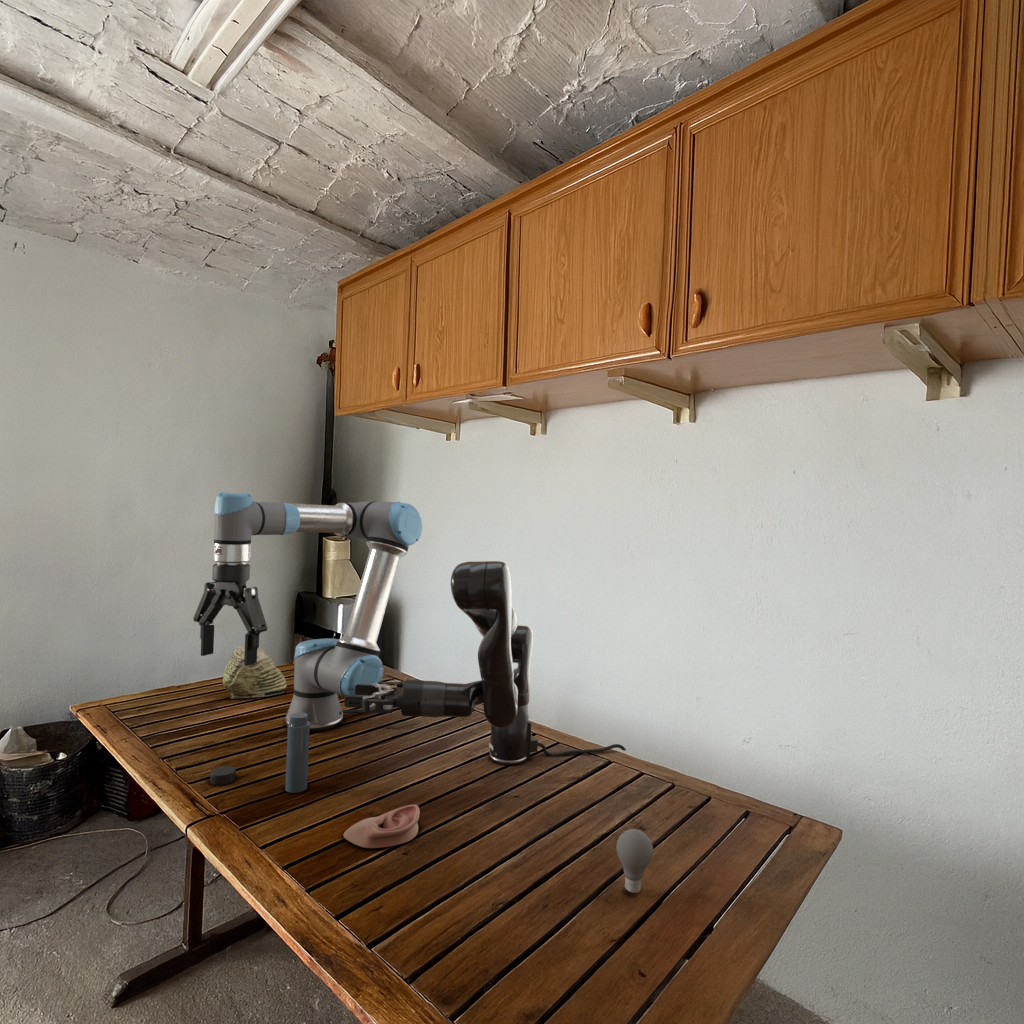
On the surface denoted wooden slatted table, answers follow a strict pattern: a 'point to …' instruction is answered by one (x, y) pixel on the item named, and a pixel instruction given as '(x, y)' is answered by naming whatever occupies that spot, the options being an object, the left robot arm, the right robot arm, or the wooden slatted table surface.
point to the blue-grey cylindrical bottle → (297, 753)
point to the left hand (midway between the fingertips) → (228, 659)
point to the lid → (222, 775)
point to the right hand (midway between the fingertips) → (350, 695)
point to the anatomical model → (385, 828)
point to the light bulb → (634, 857)
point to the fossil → (252, 676)
